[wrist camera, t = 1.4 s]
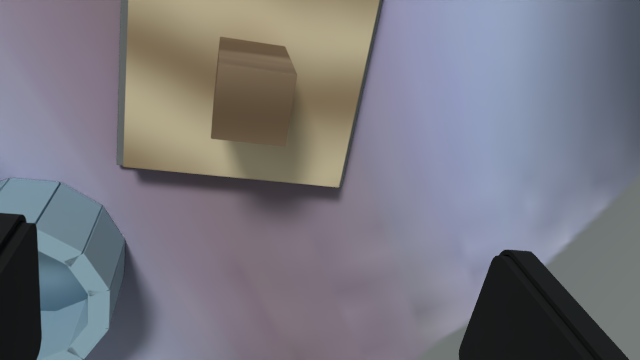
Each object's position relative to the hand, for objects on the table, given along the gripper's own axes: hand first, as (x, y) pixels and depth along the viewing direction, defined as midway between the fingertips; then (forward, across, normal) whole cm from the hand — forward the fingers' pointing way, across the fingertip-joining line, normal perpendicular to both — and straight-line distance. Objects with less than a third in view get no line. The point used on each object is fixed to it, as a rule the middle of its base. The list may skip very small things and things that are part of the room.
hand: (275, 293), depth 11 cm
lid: (+18, 0, 0) cm, 18 cm away
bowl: (+18, +10, +12) cm, 24 cm away
